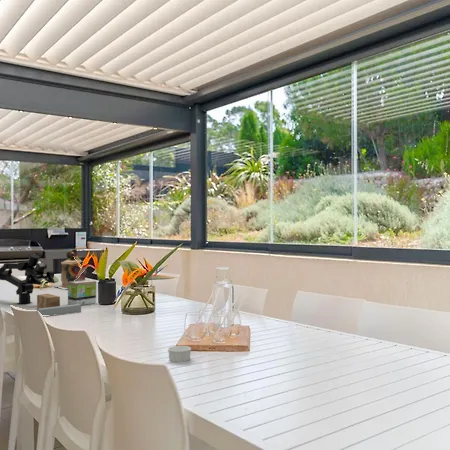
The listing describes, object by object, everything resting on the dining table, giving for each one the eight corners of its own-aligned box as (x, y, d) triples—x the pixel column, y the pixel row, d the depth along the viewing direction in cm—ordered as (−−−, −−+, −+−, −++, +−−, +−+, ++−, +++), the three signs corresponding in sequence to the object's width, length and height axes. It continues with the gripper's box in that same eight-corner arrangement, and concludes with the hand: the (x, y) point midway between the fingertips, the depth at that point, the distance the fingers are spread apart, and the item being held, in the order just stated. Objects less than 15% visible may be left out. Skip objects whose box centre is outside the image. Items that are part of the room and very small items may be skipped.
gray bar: (40, 317, 266) (40, 309, 266) (37, 316, 269) (37, 308, 269) (81, 312, 282) (81, 304, 282) (78, 311, 285) (78, 304, 285)
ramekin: (163, 360, 183) (163, 348, 183) (179, 355, 190) (179, 344, 190) (180, 364, 177) (180, 352, 177) (196, 359, 184) (196, 347, 184)
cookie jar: (52, 287, 392) (52, 248, 392) (80, 284, 409) (80, 247, 409) (65, 290, 374) (65, 249, 374) (94, 287, 391) (94, 248, 391)
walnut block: (37, 309, 290) (37, 294, 290) (48, 308, 294) (48, 293, 294) (48, 313, 278) (48, 297, 278) (59, 311, 283) (59, 296, 283)
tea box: (76, 306, 301) (76, 282, 301) (67, 304, 307) (67, 281, 307) (96, 303, 313) (96, 280, 313) (87, 301, 319) (86, 279, 319)
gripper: (23, 261, 297) (38, 272, 289) (49, 260, 313) (63, 270, 305) (19, 278, 299) (33, 289, 291) (45, 275, 315) (59, 285, 307)
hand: (48, 283), depth 299 cm, fingers open, 9 cm apart
